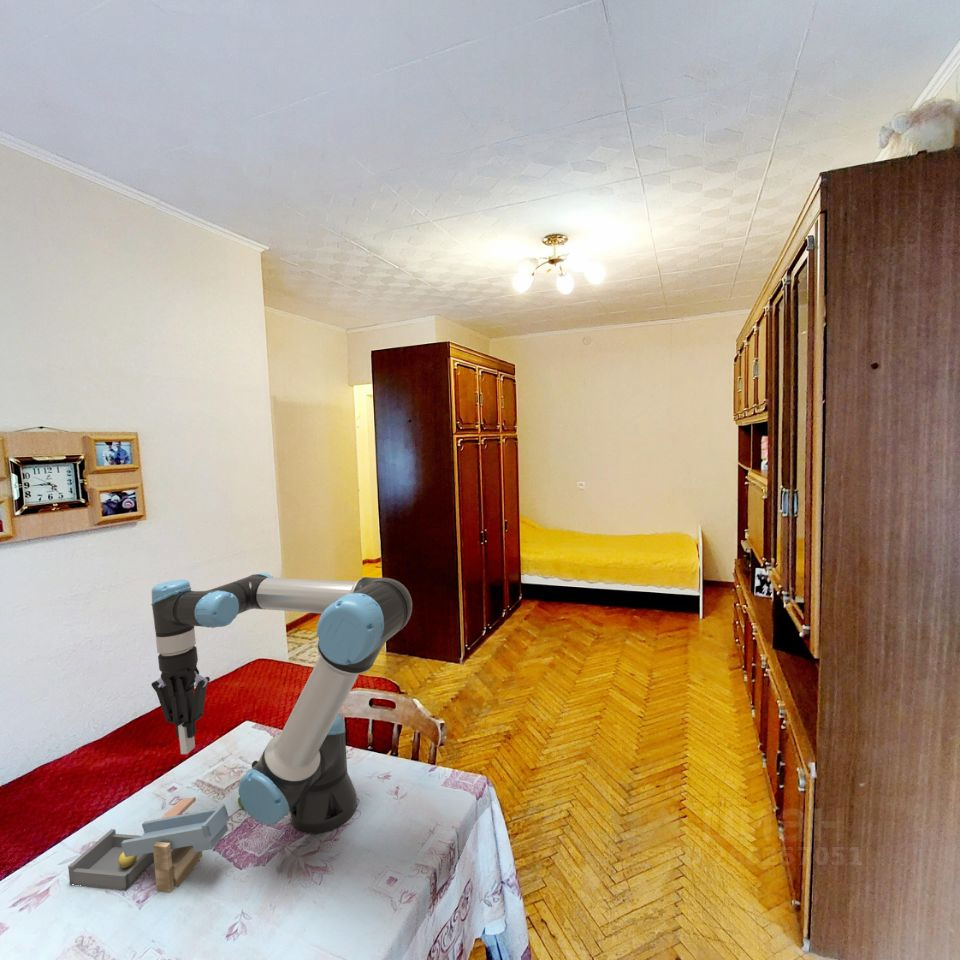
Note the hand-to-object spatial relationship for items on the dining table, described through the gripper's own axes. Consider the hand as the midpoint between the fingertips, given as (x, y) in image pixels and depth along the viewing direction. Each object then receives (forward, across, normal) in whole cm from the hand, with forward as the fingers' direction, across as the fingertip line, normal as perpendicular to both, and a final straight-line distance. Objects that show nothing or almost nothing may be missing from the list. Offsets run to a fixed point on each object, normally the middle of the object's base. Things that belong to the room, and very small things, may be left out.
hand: (188, 750), depth 114 cm
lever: (+13, -6, +7) cm, 16 cm away
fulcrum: (+19, -5, +11) cm, 23 cm away
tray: (+19, +10, +11) cm, 24 cm away
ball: (+17, +7, +11) cm, 21 cm away
